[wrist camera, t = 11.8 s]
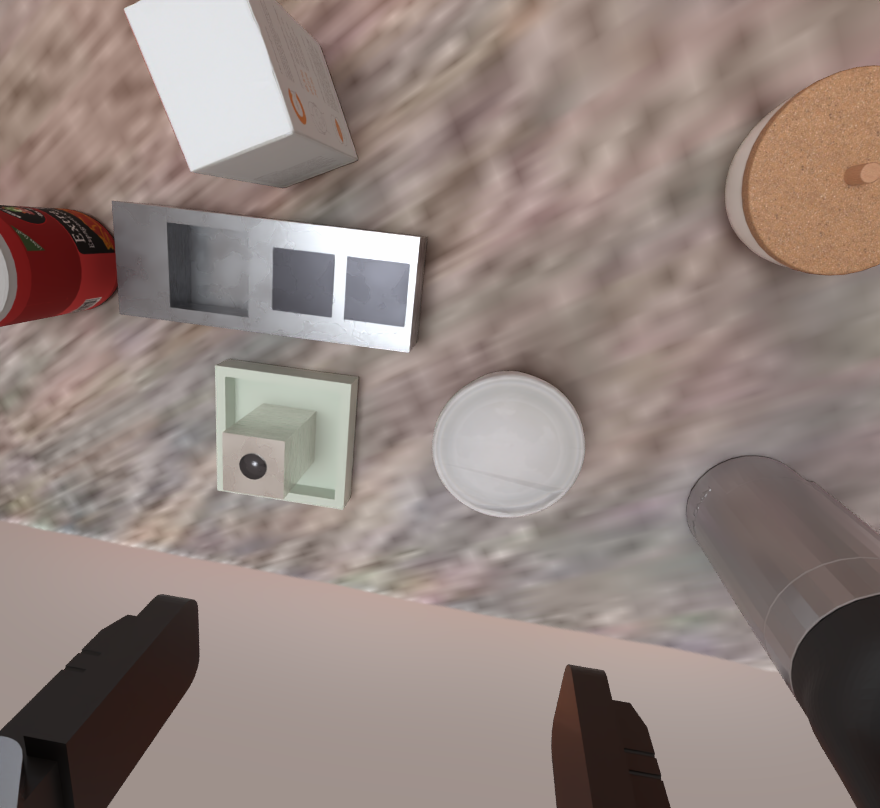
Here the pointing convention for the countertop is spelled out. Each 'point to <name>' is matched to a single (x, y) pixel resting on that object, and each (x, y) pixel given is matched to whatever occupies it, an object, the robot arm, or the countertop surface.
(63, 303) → the canned food
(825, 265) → the lidded jar
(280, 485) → the cube with dark knob
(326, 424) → the parts tray
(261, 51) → the small box
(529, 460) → the ramekin
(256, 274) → the grey compartment tray
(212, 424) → the countertop surface
